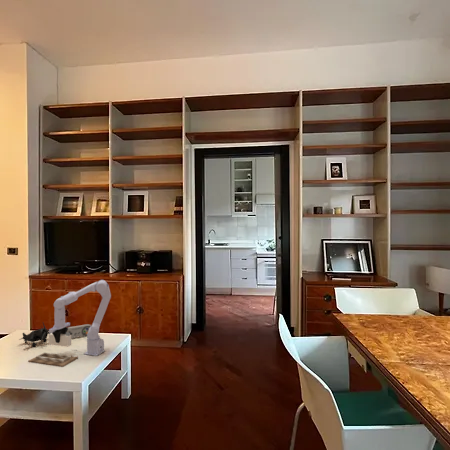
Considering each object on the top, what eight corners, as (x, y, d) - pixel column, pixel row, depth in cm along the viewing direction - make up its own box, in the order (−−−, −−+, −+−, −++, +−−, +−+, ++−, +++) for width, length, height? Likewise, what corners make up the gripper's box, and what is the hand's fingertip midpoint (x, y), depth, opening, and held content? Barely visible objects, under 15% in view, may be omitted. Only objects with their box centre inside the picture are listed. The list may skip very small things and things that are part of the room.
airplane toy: (37, 350, 212) (36, 326, 211) (10, 349, 215) (10, 325, 215) (58, 339, 231) (58, 317, 231) (33, 338, 235) (33, 316, 235)
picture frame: (77, 358, 199) (77, 354, 199) (62, 366, 188) (62, 362, 188) (44, 354, 206) (44, 350, 206) (28, 361, 195) (28, 357, 195)
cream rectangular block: (71, 344, 202) (71, 332, 202) (67, 346, 199) (67, 333, 199) (52, 342, 206) (52, 330, 206) (48, 344, 203) (48, 331, 203)
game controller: (62, 341, 229) (62, 328, 229) (62, 340, 231) (62, 327, 231) (93, 335, 240) (93, 323, 240) (92, 334, 242) (92, 323, 241)
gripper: (63, 314, 211) (63, 336, 211) (44, 321, 197) (44, 344, 197) (72, 315, 209) (73, 337, 209) (54, 322, 195) (54, 346, 195)
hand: (60, 341), depth 203 cm, fingers closed on cream rectangular block, 3 cm apart
